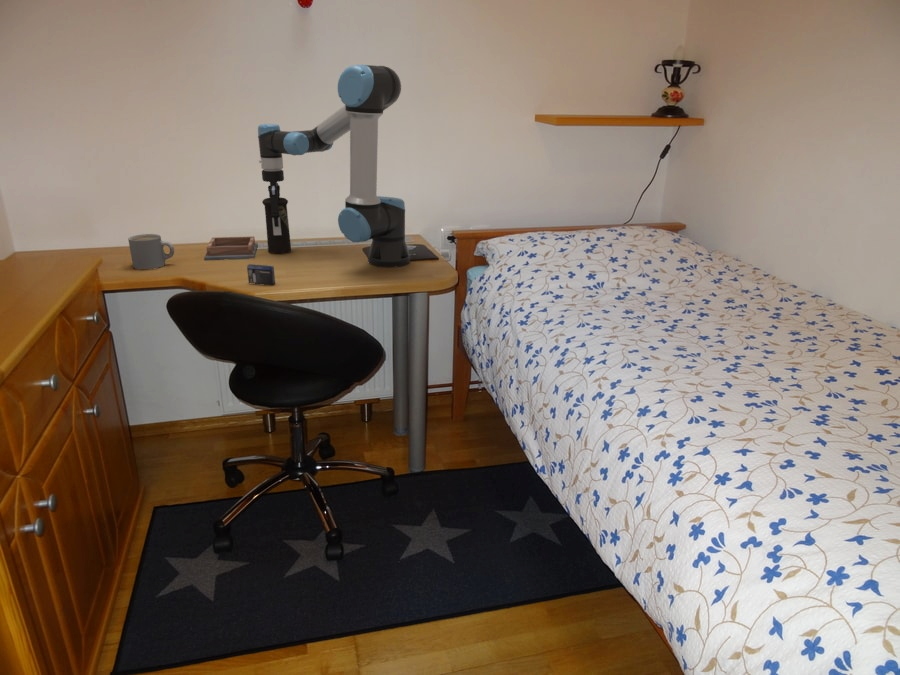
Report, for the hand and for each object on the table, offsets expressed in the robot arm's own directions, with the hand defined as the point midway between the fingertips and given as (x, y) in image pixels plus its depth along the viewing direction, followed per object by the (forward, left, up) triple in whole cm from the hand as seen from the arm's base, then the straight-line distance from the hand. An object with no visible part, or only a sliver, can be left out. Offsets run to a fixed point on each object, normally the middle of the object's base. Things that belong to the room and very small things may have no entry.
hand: (278, 232), depth 230 cm
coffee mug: (-14, +41, -8) cm, 44 cm away
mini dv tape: (-40, +4, -8) cm, 41 cm away
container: (0, 0, -7) cm, 7 cm away
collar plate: (+1, +17, -7) cm, 19 cm away
